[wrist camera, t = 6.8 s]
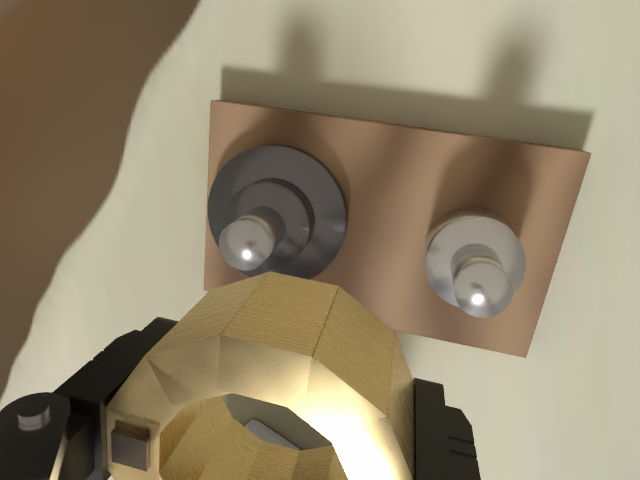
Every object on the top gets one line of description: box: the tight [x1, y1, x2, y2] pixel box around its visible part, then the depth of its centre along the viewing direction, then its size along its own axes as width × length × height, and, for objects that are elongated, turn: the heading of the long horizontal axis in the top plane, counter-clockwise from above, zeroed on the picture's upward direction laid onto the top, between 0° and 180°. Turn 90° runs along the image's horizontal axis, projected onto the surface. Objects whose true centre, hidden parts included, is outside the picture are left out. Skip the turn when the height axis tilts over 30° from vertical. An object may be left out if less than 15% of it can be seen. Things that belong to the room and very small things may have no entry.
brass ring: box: [106, 271, 415, 480], centre depth 10 cm, size 6×6×3 cm
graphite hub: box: [207, 144, 348, 280], centre depth 26 cm, size 9×9×6 cm
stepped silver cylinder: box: [425, 207, 526, 318], centre depth 24 cm, size 5×5×6 cm
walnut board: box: [204, 100, 591, 358], centre depth 29 cm, size 22×13×2 cm, turn 83°
